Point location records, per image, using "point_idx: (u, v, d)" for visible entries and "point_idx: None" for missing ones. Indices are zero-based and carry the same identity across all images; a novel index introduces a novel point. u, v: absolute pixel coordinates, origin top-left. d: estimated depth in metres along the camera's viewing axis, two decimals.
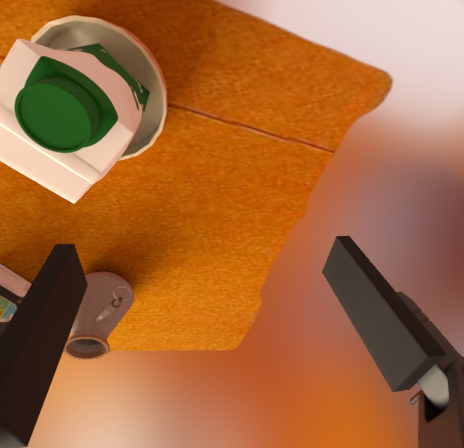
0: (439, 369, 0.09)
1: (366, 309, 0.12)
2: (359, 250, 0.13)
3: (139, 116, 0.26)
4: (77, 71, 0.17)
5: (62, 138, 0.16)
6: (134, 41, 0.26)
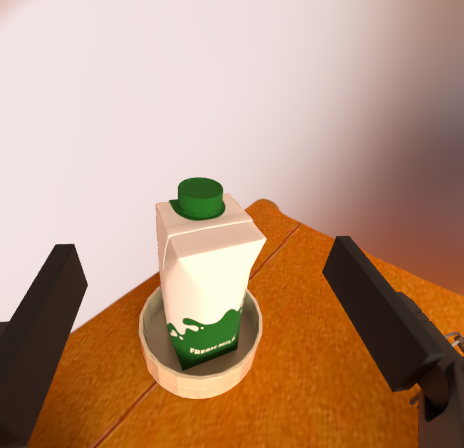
0: (438, 368, 0.09)
1: (366, 309, 0.12)
2: (359, 250, 0.13)
3: None
4: None
5: (212, 191, 0.23)
6: None
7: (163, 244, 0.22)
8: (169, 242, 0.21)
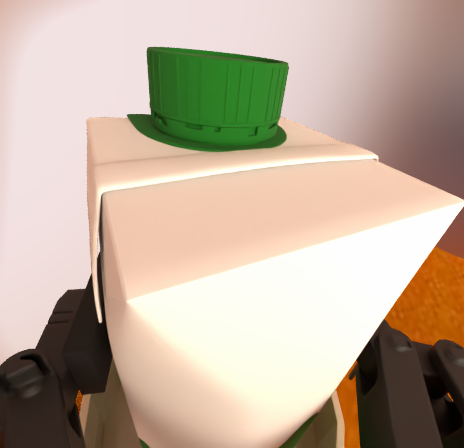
0: None
1: None
2: None
3: None
4: None
5: None
6: None
7: (90, 231, 0.06)
8: (103, 216, 0.05)
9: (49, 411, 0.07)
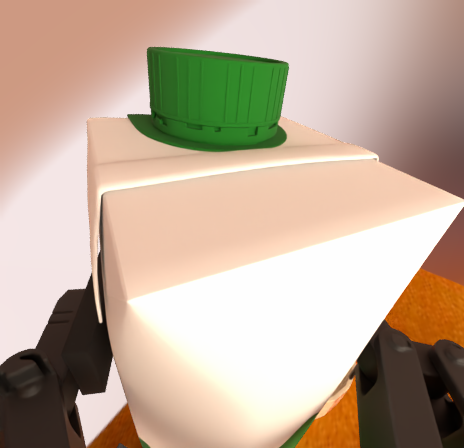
0: None
1: None
2: None
3: None
4: None
5: None
6: None
7: (90, 230, 0.06)
8: (104, 216, 0.05)
9: (49, 411, 0.07)
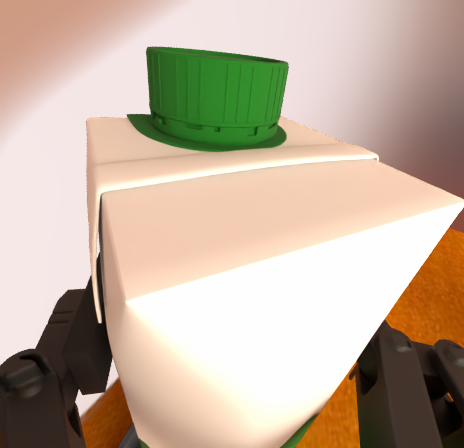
0: None
1: None
2: None
3: None
4: None
5: None
6: None
7: (89, 230, 0.06)
8: (102, 216, 0.05)
9: (49, 411, 0.07)
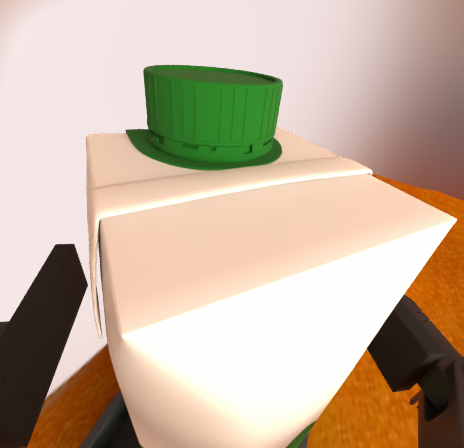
0: (438, 368, 0.09)
1: None
2: None
3: None
4: None
5: (250, 81, 0.07)
6: None
7: (89, 251, 0.06)
8: (101, 241, 0.05)
9: None
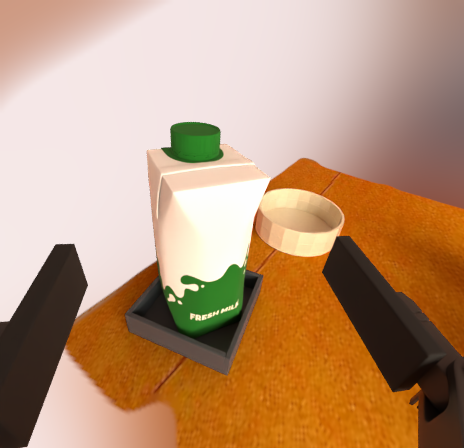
0: (438, 368, 0.09)
1: (366, 309, 0.12)
2: (359, 250, 0.13)
3: None
4: None
5: (208, 131, 0.21)
6: (274, 190, 0.49)
7: (155, 187, 0.19)
8: (162, 181, 0.18)
9: None
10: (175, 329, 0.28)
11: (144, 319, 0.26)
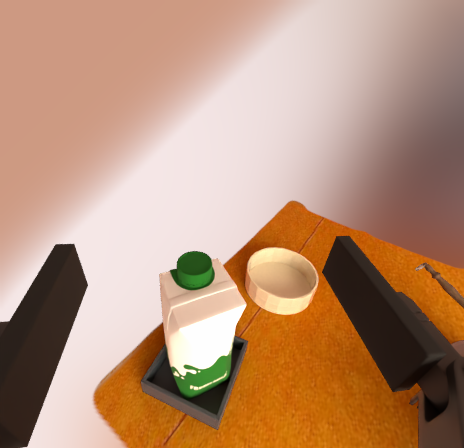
0: (438, 368, 0.09)
1: (366, 309, 0.12)
2: (359, 250, 0.13)
3: None
4: None
5: (203, 265, 0.29)
6: None
7: (166, 311, 0.28)
8: (171, 312, 0.27)
9: None
10: (178, 390, 0.37)
11: (155, 386, 0.35)
